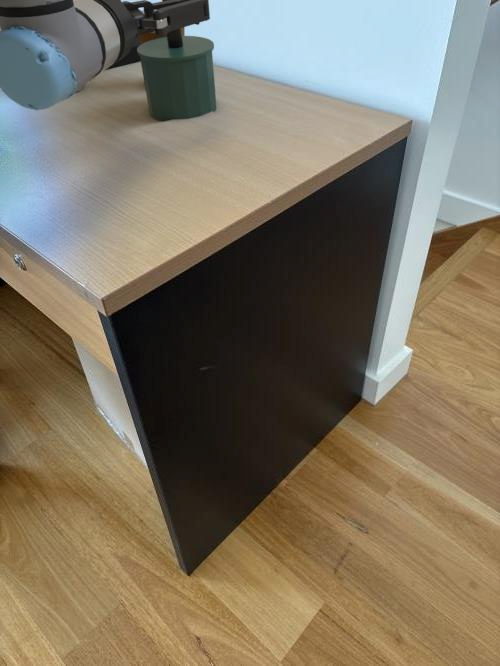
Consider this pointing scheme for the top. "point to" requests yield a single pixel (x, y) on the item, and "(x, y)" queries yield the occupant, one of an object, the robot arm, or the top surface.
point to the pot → (179, 87)
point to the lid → (175, 47)
